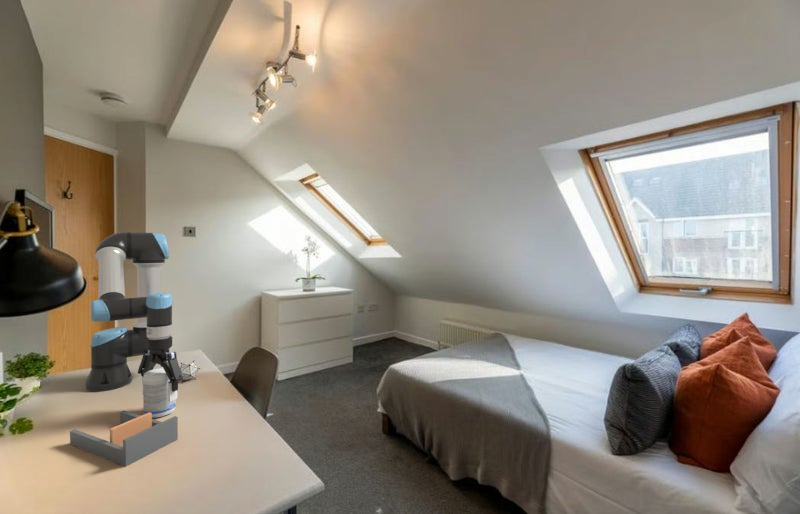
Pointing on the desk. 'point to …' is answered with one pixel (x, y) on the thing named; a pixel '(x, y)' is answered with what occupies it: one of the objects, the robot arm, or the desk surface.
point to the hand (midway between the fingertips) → (159, 396)
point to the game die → (189, 370)
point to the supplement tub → (157, 393)
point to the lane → (129, 441)
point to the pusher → (130, 428)
